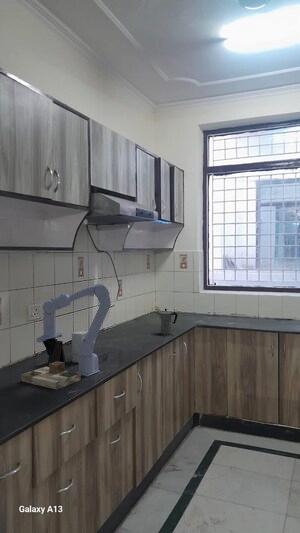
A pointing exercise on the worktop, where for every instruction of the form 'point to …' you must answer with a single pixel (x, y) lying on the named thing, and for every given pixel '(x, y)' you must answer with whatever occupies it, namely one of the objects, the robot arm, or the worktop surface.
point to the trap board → (50, 378)
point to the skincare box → (77, 344)
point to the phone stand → (57, 353)
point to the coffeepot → (166, 321)
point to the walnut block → (56, 367)
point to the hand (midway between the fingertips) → (50, 354)
